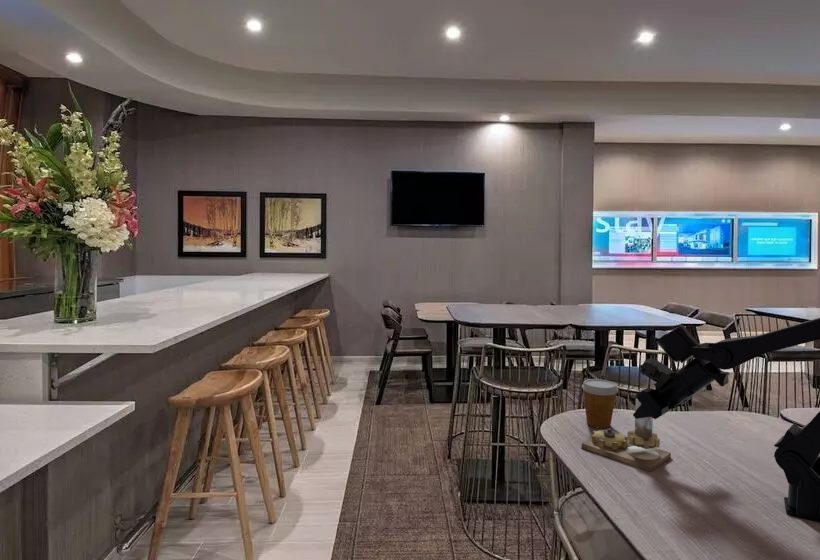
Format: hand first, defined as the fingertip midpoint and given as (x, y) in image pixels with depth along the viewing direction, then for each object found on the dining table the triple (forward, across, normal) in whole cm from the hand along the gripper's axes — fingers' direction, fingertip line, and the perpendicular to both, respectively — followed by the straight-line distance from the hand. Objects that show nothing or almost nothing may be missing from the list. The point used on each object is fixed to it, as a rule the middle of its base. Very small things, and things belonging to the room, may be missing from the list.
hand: (638, 414), depth 116 cm
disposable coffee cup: (+19, -13, -4) cm, 23 cm away
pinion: (+4, 0, +6) cm, 7 cm away
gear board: (+9, 0, +5) cm, 11 cm away
